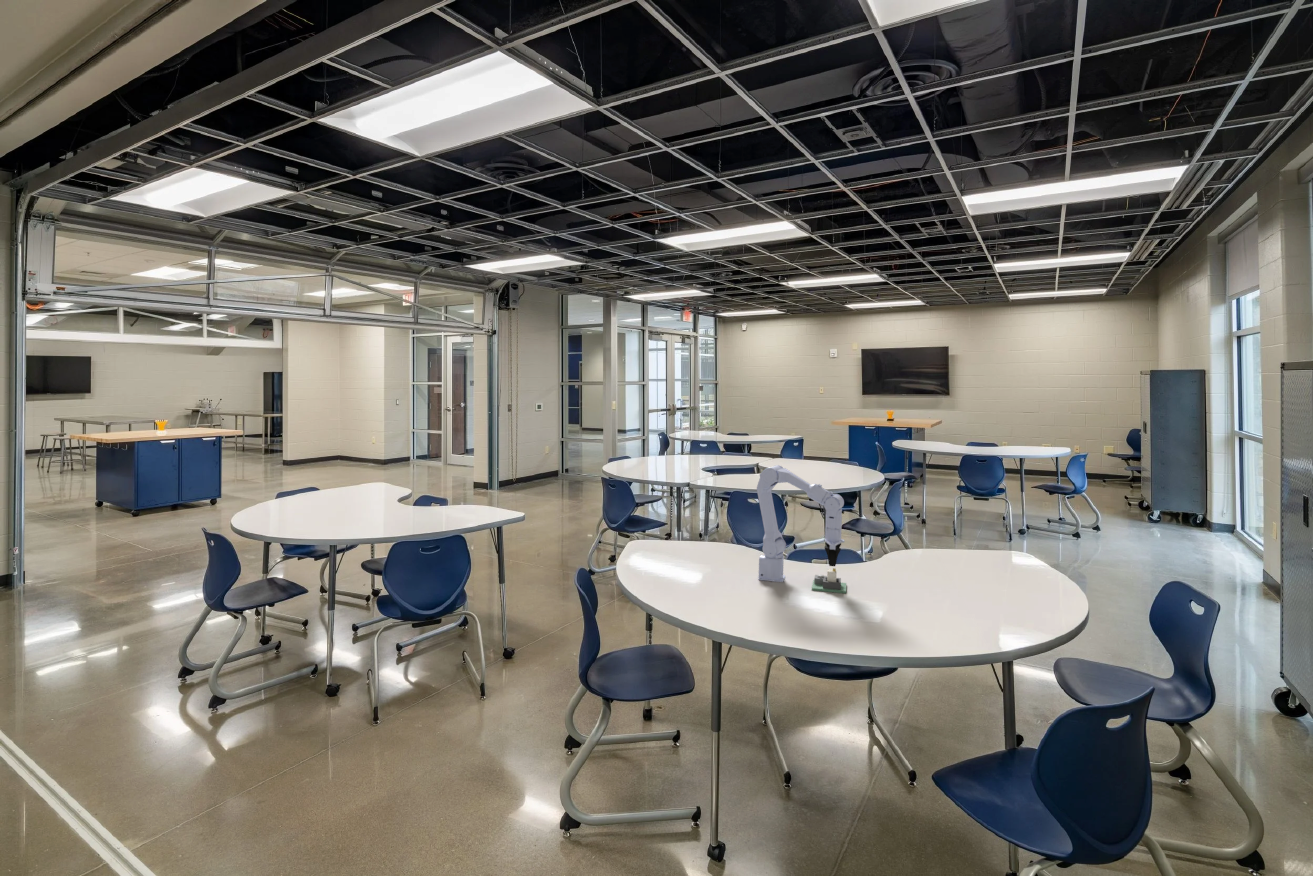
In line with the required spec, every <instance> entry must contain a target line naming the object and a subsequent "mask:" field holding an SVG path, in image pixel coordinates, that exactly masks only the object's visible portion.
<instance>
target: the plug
mask: <svg viewBox="0 0 1313 876" xmlns="http://www.w3.org/2000/svg"><path fill="white" fill-rule="evenodd" d="M826 572H827V573H826V574H827V575H826V576H827V581H828V582H836V578H837V573H838V570H837V569H836V567H835V568H832V569H831V568H830V569H828V568H827V571H826Z"/></svg>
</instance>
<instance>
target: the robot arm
mask: <svg viewBox="0 0 1313 876" xmlns="http://www.w3.org/2000/svg"><path fill="white" fill-rule="evenodd" d="M781 483H785V484H786V483H788V484H790V485H791V486H793V487H796V488H797V489H800V490H802V491H804V492H805V493H806V495H807V498H809V499H811V500H813V502H816V503H818V504H820V505H821V506H823V507H824V509H825V527H824V528H825V531H824V532H825V533H824V535H825V536H824V542H825V546H824V550H825V553H826V555H827V560H828V566H829V567H836V566H837V565H836V564H837V562H838V556H839V555H840V552H841V549H842V548H840V547H841V546H842V543H845V539H842V531H843V530H842V527H843V526H842V525H843V524H842V523H843V521H842V520H843V514H842V513H843V509H842V508H843V507H844V505H845V500H844V498H843V497H842V496H841V495H840V494H838V493H834V492H833V491H829V490H827V489H826V488H823V485H822V484H821V483H813V484H810V483H809V482H808V481H806V480H804V479H803V478H801V477H800V476H798V475H797V474H795V473H794V472H792V471H790V470H789V469H788V468H786V467H783V466H782V465H779V464H776V465H773V466H770V467H766V468H765V469H763V470H762V471H761V472H760V474H759V480H758V482H757V486H756V492H757V497H758V503H759V509H760V514H761V519H762V524H763V530H764V535H763V538H762V543H763V544H762V548H761V549H762V553H763V554H764V555H763V554H760V556H759V559H758V578H757V580H759V581H766V582H775V583H776V582H777V583H783V582H784V581H785V578H786V575H785V574H784V556H785V555H784V552H785V550H786V548H787V543H786V541H785V540H784V538H783V534H782V532H781V531H780V530H779V527H778V520H777V516H776V510H775V506H774V505H775V504H774V499H773V494H772V490H773V489H774V487H775V486H776V485H777V484H781Z"/></svg>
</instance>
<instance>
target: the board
mask: <svg viewBox="0 0 1313 876" xmlns="http://www.w3.org/2000/svg"><path fill="white" fill-rule="evenodd" d="M811 591H814V592H815V591H817V592H825V593H827V592H829V593H837V594H844V595H845V594H847V582H842V578H841V577H836V582H828V581H827V575H824V574H815V575H814V579H813V581H812V586H811Z"/></svg>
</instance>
